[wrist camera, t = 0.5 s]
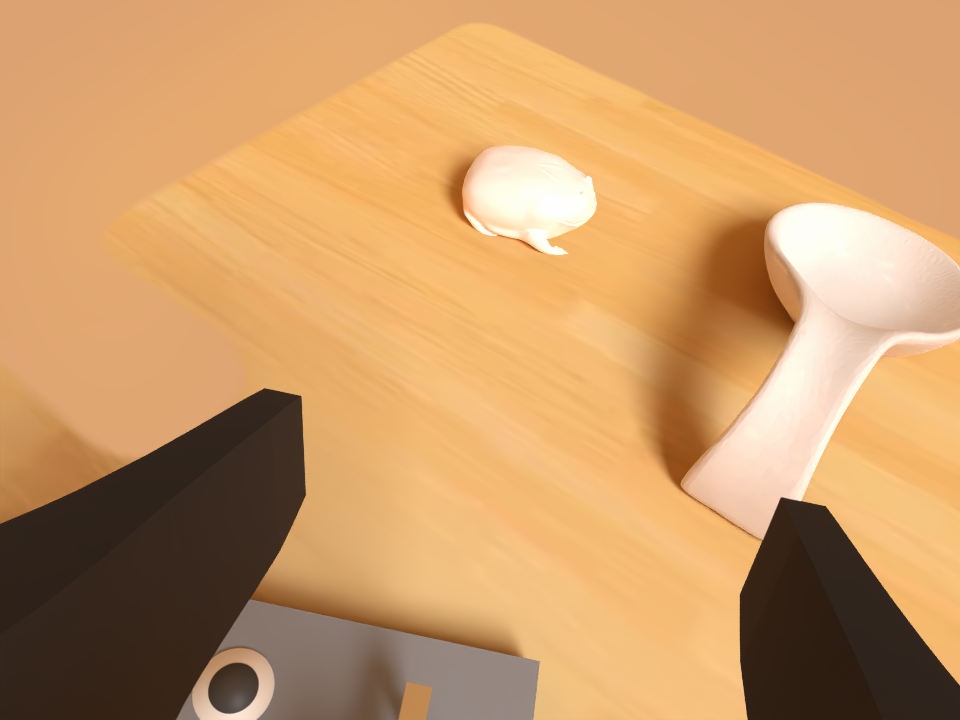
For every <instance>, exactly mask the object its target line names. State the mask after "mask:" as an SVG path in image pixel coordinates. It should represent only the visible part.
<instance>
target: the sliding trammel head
mask: <svg viewBox="0 0 960 720" xmlns="http://www.w3.org/2000/svg"><path fill="white" fill-rule="evenodd" d="M431 692H432V687H428V686H424V685H419V684H415V683H410V682H407V683H406V688H405V692H404V697H403V701H402V706H401V710H400V715H399V719H398V720H426V717H427V712H428V707H429V702H430V697H431Z"/></svg>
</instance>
